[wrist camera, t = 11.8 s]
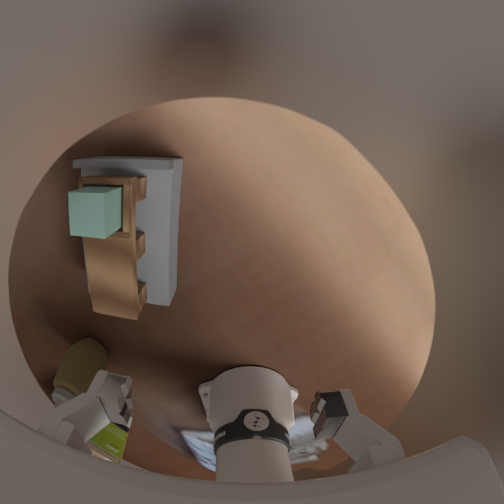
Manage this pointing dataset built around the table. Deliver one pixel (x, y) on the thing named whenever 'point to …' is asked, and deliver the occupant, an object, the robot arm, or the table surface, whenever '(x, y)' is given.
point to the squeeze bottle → (78, 370)
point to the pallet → (117, 254)
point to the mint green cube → (95, 211)
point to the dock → (150, 217)
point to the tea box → (110, 441)
